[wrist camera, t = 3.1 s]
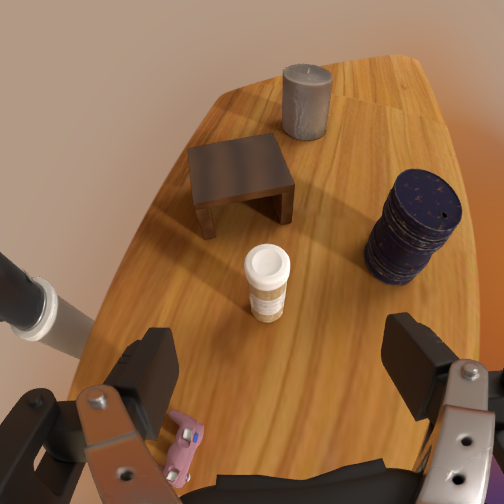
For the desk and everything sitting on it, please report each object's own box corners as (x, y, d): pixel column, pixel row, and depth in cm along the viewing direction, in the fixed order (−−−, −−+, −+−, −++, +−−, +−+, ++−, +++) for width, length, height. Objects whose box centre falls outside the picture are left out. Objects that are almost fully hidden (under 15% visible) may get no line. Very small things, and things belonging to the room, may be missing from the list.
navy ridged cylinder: (351, 244, 45) (377, 178, 32) (396, 224, 47) (428, 161, 34) (385, 297, 41) (429, 244, 28) (429, 271, 42) (475, 216, 29)
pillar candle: (328, 120, 62) (335, 63, 49) (322, 145, 57) (331, 82, 44) (286, 112, 64) (288, 55, 51) (276, 136, 59) (276, 73, 46)
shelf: (204, 240, 47) (193, 204, 39) (197, 185, 53) (187, 148, 45) (291, 222, 48) (295, 184, 40) (273, 171, 54) (273, 133, 46)
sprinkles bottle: (259, 287, 43) (256, 235, 31) (289, 300, 41) (297, 252, 30) (245, 315, 41) (235, 272, 29) (275, 329, 39) (278, 290, 28)
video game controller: (178, 477, 30) (188, 497, 24) (146, 467, 29) (150, 487, 23) (200, 417, 35) (215, 427, 29) (168, 405, 34) (176, 415, 28)
